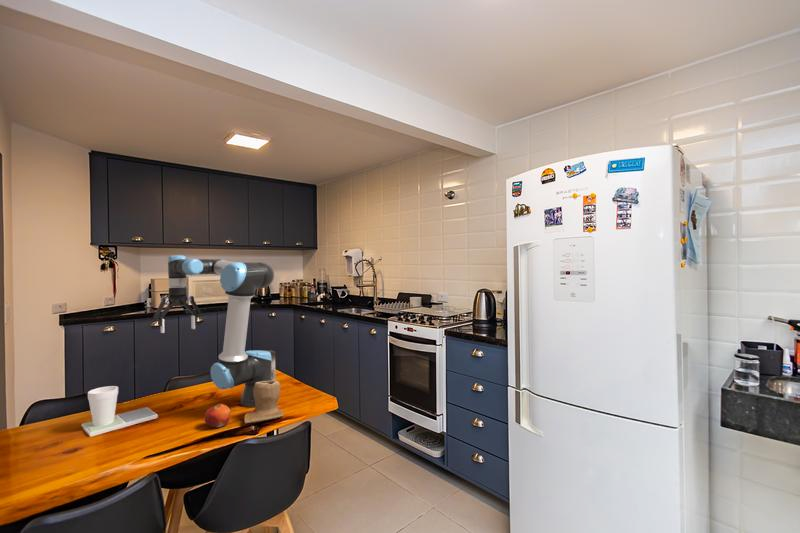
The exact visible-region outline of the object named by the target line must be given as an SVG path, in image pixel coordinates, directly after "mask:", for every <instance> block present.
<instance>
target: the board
mask: <svg viewBox="0 0 800 533" xmlns="http://www.w3.org/2000/svg"><path fill="white" fill-rule="evenodd" d="M158 418H159V414H157V413H156V412H154V411H153V410H152V409H150V408H149V407H147V406H146V407H142V408H138V409H134V410H130V411H126V412H123V413H118V414H115V416H114V422H112V423H110V424H107V425H103V426H94V424H93V420H91V421H88V422H83V423H81V428H82V427H83V428H82V429H83V430H84V431H85V433H86V434H87V435H88V437H94V436H98V435H101V434H105V433H108V432H111V431H112V432H113V431H116V430H118V429H123V428H126V427H129V426H133V425H136V424H140V423H144V422H147V421H152V420H154V419H158Z"/></svg>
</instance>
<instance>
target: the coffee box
mask: <svg viewBox="0 0 800 533" xmlns="http://www.w3.org/2000/svg"><path fill="white" fill-rule="evenodd" d="M267 351H268V352H270V353H271V360H272V361H271V373H272V381H276V351H274V350H271V349H270V350H267Z"/></svg>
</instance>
